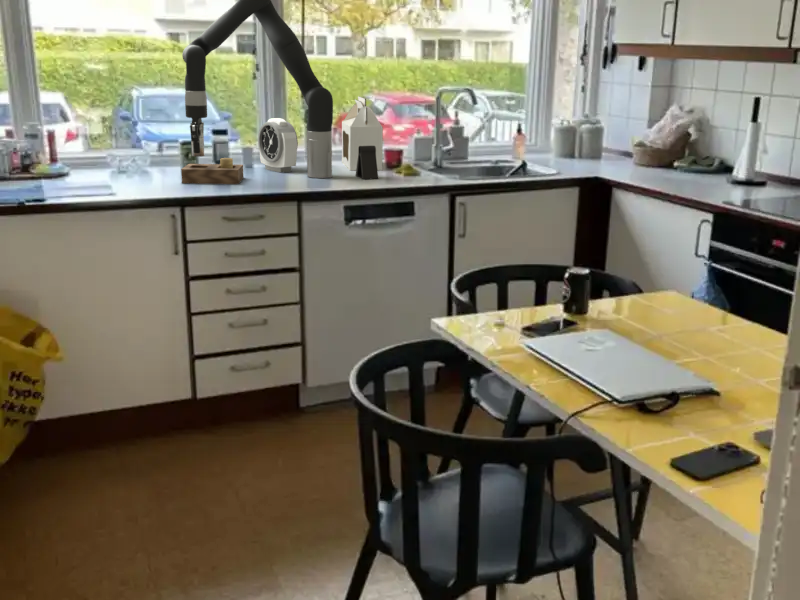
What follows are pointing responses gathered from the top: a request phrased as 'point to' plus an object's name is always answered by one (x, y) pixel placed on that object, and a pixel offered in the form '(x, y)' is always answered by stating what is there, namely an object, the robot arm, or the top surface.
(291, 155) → the alarm clock
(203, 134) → the steel bushing
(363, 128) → the gable box
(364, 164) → the door stopper
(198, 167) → the block
